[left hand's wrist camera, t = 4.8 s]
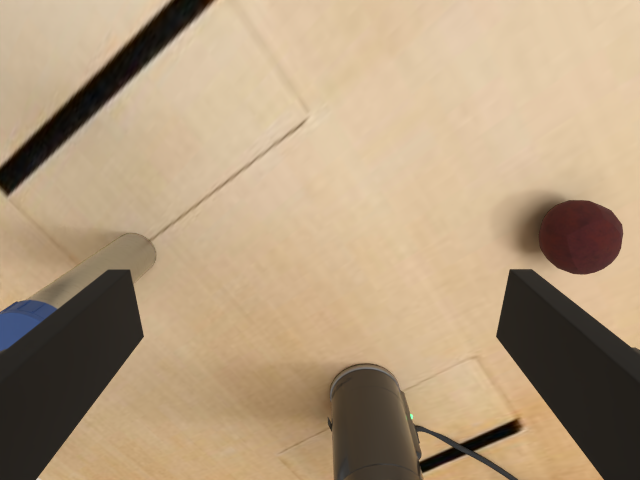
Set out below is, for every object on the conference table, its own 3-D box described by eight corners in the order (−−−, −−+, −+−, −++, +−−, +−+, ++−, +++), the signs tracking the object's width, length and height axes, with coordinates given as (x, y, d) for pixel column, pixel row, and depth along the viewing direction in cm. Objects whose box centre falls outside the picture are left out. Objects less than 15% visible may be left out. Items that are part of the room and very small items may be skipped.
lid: (38, 287, 27) (19, 299, 25) (90, 339, 28) (75, 354, 27) (-13, 320, 28) (-34, 334, 26) (41, 368, 29) (24, 385, 28)
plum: (540, 267, 43) (580, 297, 36) (514, 215, 41) (551, 237, 34) (601, 235, 42) (654, 260, 35) (578, 179, 39) (630, 194, 33)
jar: (137, 225, 41) (24, 301, 26) (164, 258, 43) (74, 349, 27) (105, 246, 42) (-22, 331, 26) (133, 277, 44) (28, 376, 28)
